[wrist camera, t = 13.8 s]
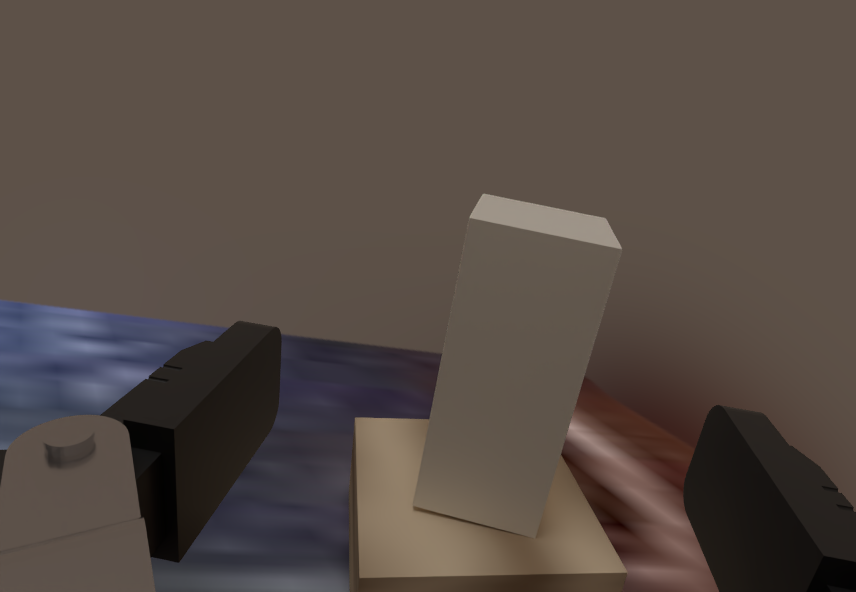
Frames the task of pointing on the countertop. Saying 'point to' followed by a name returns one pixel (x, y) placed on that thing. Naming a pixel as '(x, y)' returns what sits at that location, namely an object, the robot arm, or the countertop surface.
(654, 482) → the countertop surface
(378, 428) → the beech block
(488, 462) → the cream block
